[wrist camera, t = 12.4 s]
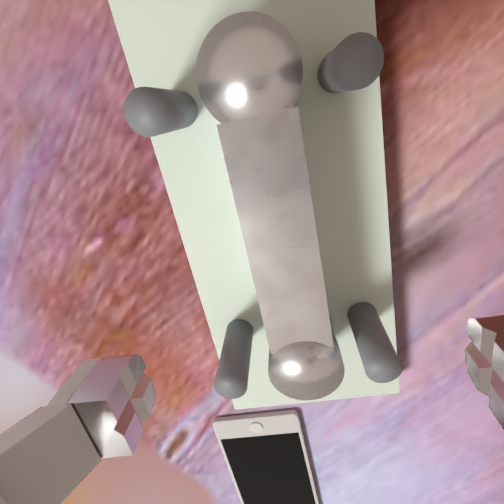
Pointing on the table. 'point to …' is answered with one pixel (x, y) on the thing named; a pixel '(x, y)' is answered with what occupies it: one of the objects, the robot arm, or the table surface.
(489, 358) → the robot arm
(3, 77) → the table surface
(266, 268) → the grey dumbbell
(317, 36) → the board
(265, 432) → the smartphone
